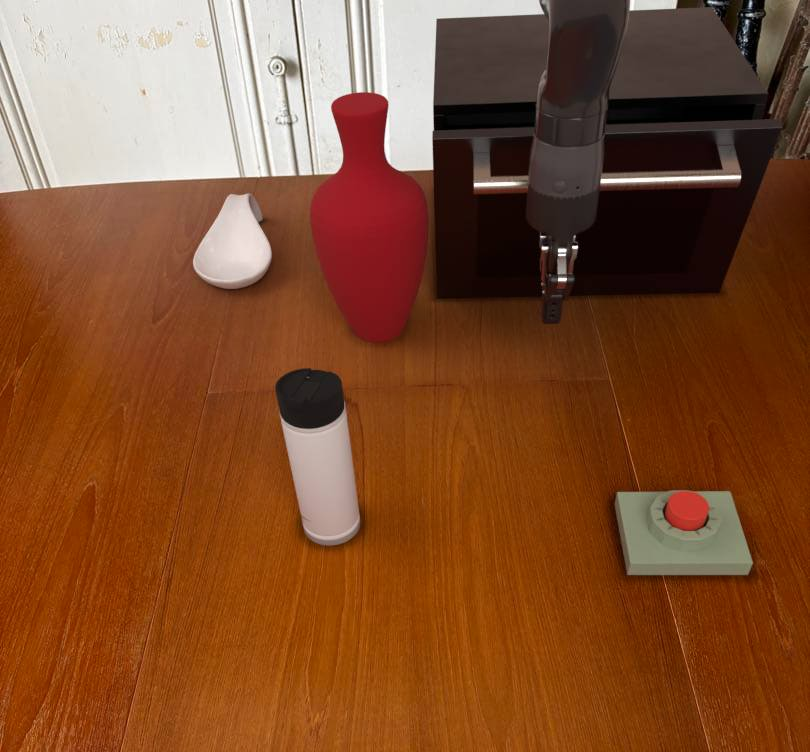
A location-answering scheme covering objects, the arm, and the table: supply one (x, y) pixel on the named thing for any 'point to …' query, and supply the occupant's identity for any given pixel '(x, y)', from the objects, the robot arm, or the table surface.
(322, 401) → the travel mug
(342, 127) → the vase
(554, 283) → the robot arm
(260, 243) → the spoon rest
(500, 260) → the oven door
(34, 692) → the table surface
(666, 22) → the oven
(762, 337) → the table surface
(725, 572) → the timer box
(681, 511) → the button
